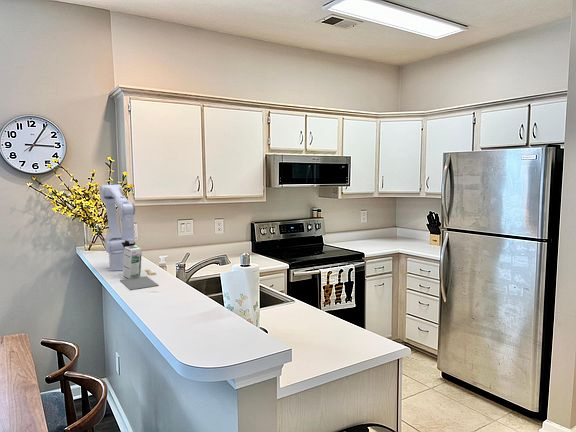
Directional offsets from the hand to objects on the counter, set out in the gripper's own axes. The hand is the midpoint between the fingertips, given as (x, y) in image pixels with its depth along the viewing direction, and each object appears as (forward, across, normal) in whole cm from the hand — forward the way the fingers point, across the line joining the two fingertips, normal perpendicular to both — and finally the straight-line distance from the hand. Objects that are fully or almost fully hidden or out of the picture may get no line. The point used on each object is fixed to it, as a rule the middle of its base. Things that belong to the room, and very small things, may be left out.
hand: (129, 256), depth 200 cm
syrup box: (+9, -3, 0) cm, 9 cm away
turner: (+10, +2, -10) cm, 14 cm away
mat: (+10, -17, 0) cm, 19 cm away
